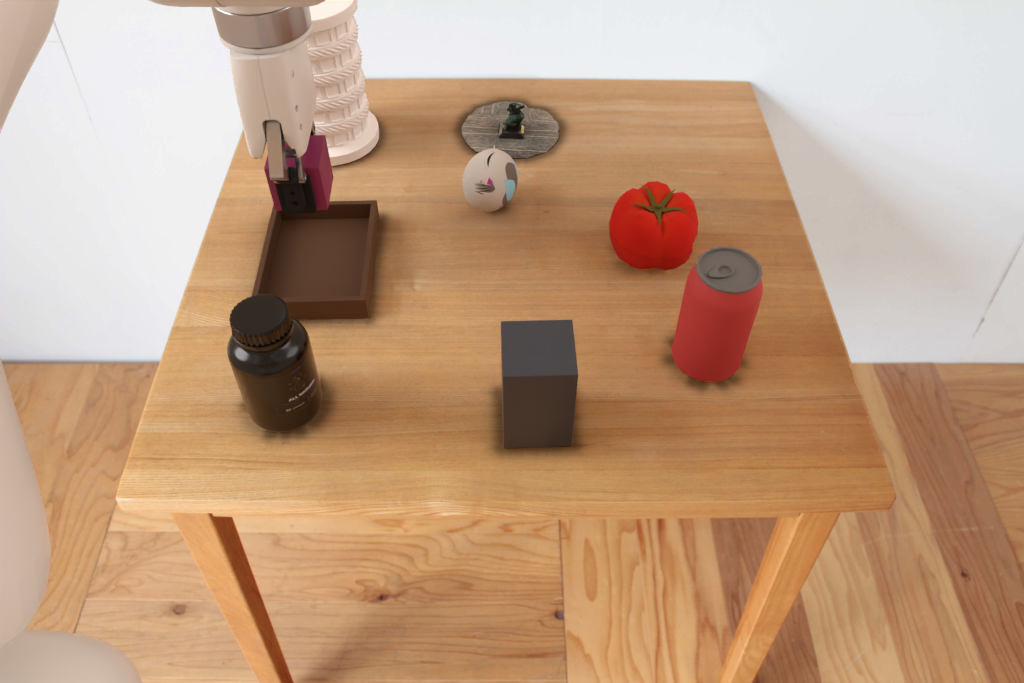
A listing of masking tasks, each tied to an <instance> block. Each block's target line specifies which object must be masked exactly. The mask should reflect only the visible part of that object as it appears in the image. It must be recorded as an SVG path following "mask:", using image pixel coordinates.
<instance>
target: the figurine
mask: <svg viewBox="0 0 1024 683" xmlns="http://www.w3.org/2000/svg"><path fill="white" fill-rule="evenodd" d="M461 182H462V183H461V185H462V192H463V195H464V197H465V200H466V201H467V203H468V204H469V205H470V206H471V207H473V208H474V209H476V210H478V211H481V212H484V213H486V212H487V213H488V212H489V213H490V212H495V211H497V210H500V209H502V208H504V207H505V206H506V205H507V204H508V203H509V202H510V201H511V200H512V198H513V197H514V195H515V193H516V191H517V187H518V183H519V173H518V168H517V165H516V162H515V161H514V158H512V157H510V156H509V155H508V154H507V153H506V152H504V151H502V150H499V149H495V145H494V147H493V149H487V150H484V151H481V152H479V153H478V152H477V153H476V154H475V155H474V156H473V157H472V158H471V159H470V160H469V161H468V163H467V164H466V166H465V168H464V171H463V174H462V180H461Z"/></svg>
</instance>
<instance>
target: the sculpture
mask: <svg viewBox="0 0 1024 683" xmlns="http://www.w3.org/2000/svg"><path fill="white" fill-rule="evenodd" d="M559 131H560V124H559V123H558V121H557V120H555V119H554V117H553V116H552V114H550V112H547V111H546V110H545V109H540V108H532V107H531V108H530V107H528V106H527V105H526V104H525V103H523V102H518V101H508V100H507V101H506V100H505V101H503V100H501V101H498V102H494V103H491V104H487V105H482V106H479V107H476V108H475V110H473V112H471V113H469V114H468V115H467V118H465V120H464V122H463V123H462V126H461V136H462V138H463V140H464V142H465V143H466V145H468V147H470V149H472V150H474V152H476V153H477V154H478V153H479V152H481V151H484V150H487V149H493V147H494V145H495V149H499V150H502V151H504V152H506V153H507V154H508V155H509V156H510V157H511V158H512V159H523V158H525V159H528V158H532V157H534V156H537V155H541V154H545V153H548V151H549V150H550V149H552V147H553V146H554V145H555V144H556V143H557V141H558V140H559V137H560V133H559Z"/></svg>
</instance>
